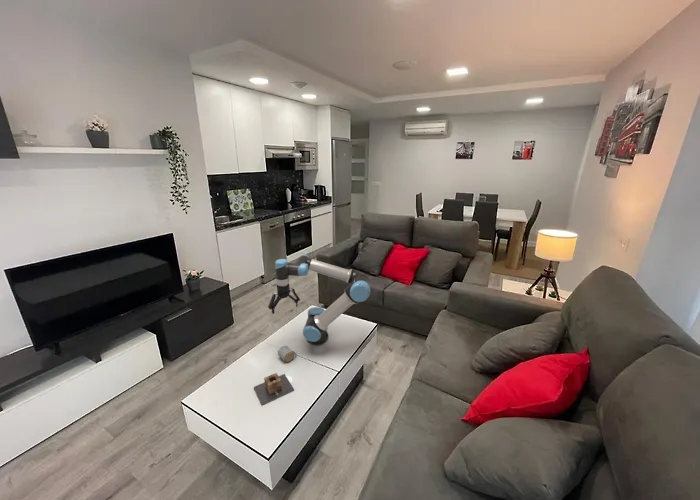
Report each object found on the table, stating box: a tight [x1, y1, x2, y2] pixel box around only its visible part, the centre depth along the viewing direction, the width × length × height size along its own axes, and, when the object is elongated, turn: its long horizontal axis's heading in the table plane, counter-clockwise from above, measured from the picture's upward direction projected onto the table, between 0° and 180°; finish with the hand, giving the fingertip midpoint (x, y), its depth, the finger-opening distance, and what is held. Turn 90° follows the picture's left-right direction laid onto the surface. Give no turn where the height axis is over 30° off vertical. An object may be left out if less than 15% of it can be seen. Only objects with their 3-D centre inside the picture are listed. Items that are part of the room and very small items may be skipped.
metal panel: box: [253, 373, 295, 406], centre depth 159 cm, size 18×14×5 cm
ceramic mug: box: [277, 345, 297, 363], centre depth 183 cm, size 11×8×8 cm
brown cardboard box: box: [263, 372, 282, 395], centre depth 158 cm, size 7×7×6 cm
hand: (285, 314), depth 184 cm, fingers open, 13 cm apart
